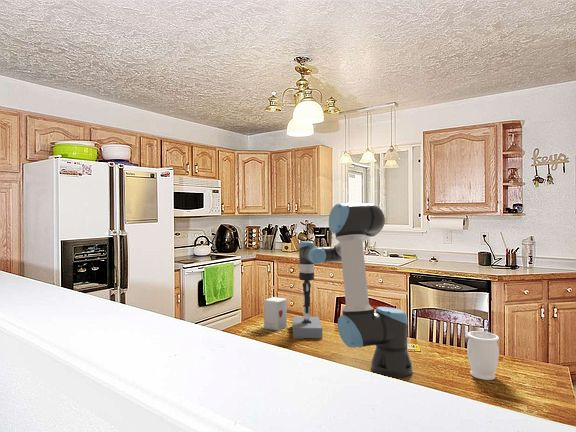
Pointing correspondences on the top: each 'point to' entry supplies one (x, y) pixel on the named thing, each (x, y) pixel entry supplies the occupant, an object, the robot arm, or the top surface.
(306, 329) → the hole block
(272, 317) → the supplement box
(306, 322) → the steel pin
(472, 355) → the jar
